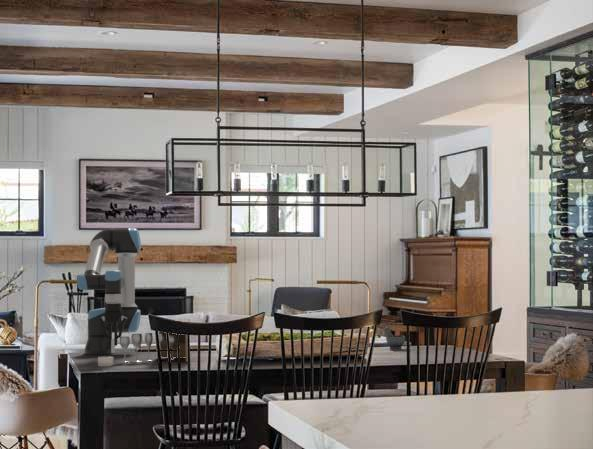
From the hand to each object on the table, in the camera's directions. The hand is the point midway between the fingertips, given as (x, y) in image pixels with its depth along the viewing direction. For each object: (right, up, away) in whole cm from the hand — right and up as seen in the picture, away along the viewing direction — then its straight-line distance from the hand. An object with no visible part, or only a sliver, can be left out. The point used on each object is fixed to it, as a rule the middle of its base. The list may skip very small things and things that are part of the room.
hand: (113, 352), depth 453 cm
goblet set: (+17, -5, +3) cm, 18 cm away
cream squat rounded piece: (-1, -4, -13) cm, 14 cm away
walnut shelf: (+28, -4, +2) cm, 28 cm away
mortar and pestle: (+138, -5, +46) cm, 146 cm away
